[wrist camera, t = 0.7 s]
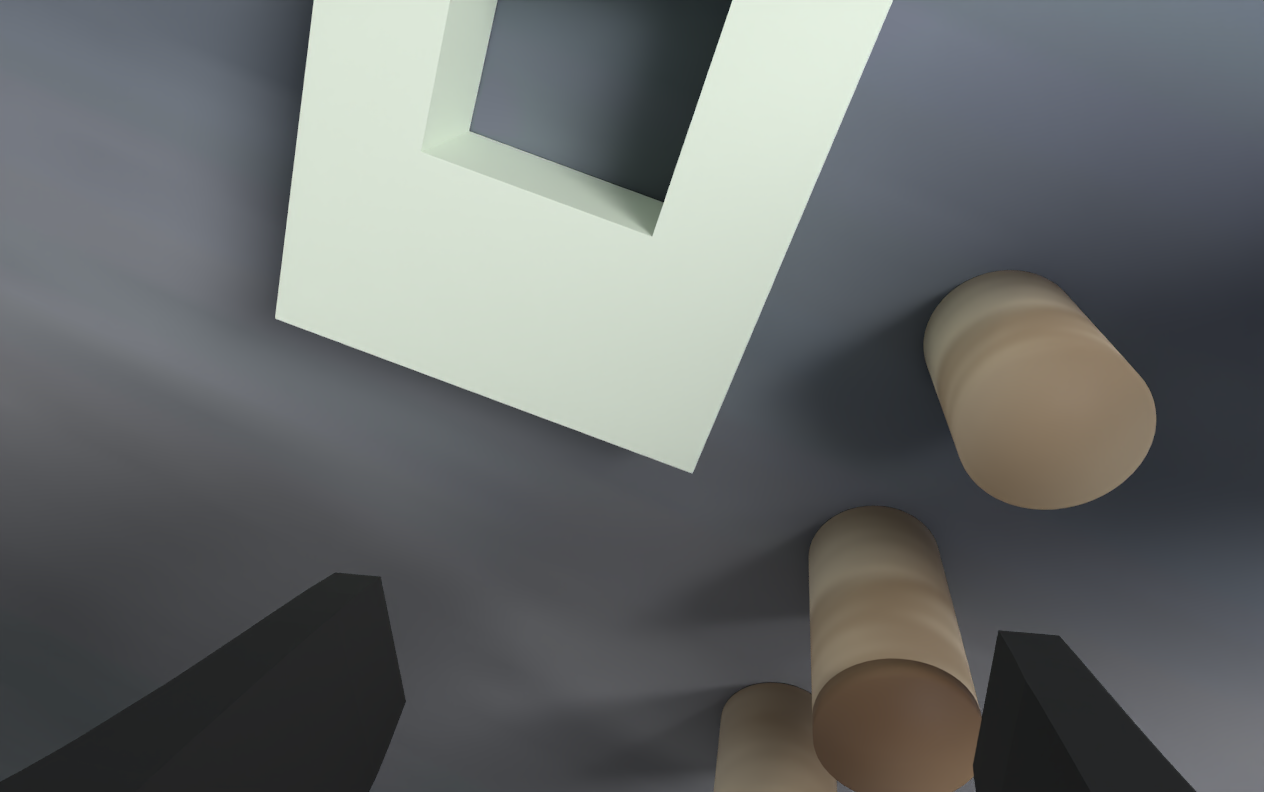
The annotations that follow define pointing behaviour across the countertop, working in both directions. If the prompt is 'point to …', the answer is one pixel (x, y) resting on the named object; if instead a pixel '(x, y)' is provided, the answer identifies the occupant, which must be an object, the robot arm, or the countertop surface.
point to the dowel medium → (887, 658)
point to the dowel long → (769, 743)
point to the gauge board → (555, 218)
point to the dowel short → (1035, 392)
